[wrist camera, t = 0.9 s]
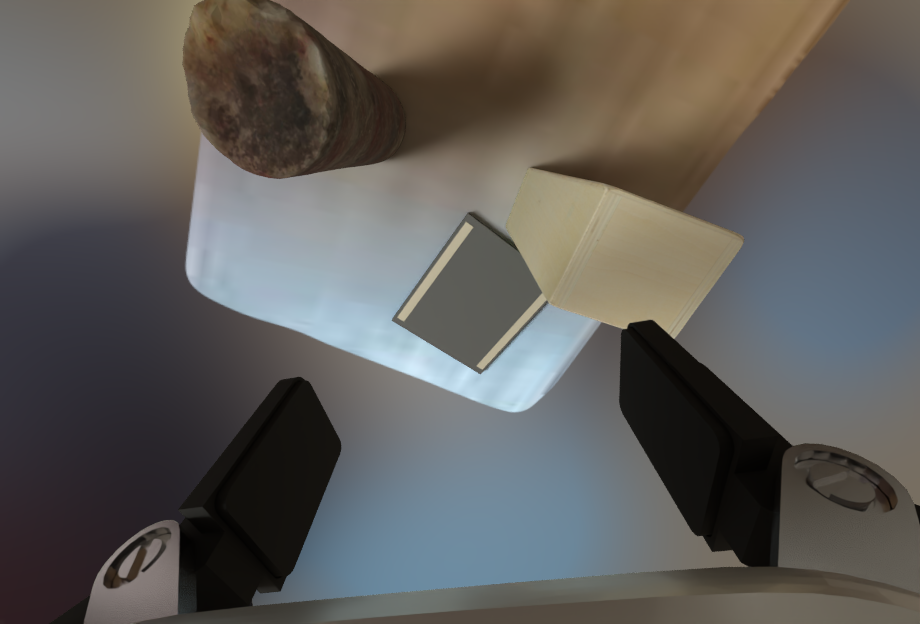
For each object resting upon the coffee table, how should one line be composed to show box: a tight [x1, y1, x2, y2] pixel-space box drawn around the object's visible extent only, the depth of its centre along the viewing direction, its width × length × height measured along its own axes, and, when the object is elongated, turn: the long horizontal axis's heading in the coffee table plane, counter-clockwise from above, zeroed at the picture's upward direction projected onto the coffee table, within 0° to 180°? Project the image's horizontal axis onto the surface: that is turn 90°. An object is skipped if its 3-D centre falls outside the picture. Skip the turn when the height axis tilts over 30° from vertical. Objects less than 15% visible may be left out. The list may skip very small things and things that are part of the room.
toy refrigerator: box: [506, 167, 744, 339], centre depth 26 cm, size 8×7×21 cm
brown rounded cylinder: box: [182, 0, 406, 179], centre depth 23 cm, size 8×7×20 cm
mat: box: [392, 213, 548, 374], centre depth 40 cm, size 16×14×1 cm
